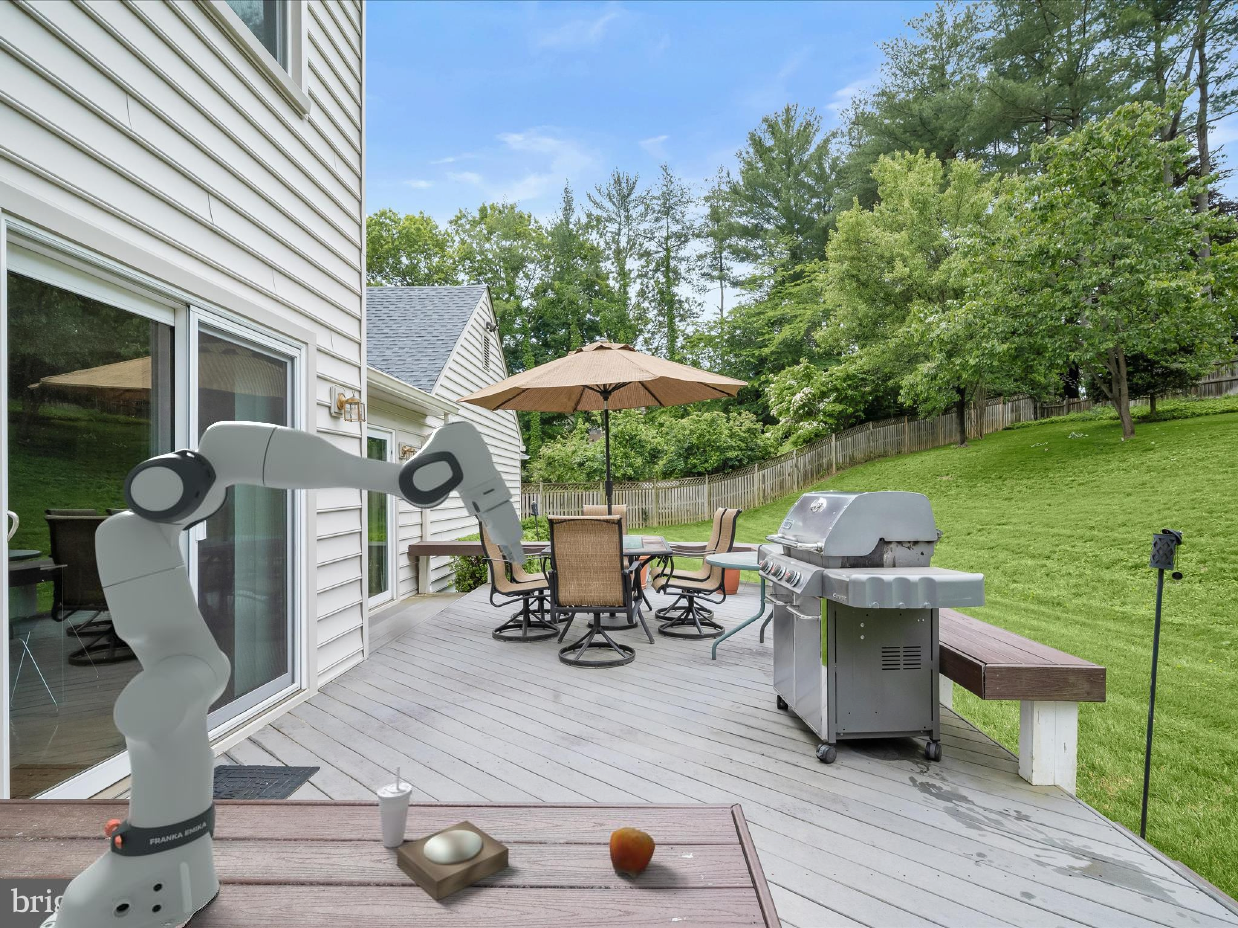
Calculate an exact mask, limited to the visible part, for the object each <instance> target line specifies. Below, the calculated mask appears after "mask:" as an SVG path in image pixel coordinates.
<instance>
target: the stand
mask: <svg viewBox="0 0 1238 928" xmlns="http://www.w3.org/2000/svg"><path fill="white" fill-rule="evenodd" d="M509 850H510V849H509V847H507V846H506V845H504V844H503V843H501V842H500V841H499V840H497V839H495V838H494V837H492V836H490V835H489V834H488V833H486V832H485V831H483V830H482V829H480V828H479V827H477V826H476V825H475V824H473V823H471V822H470V821H468V820H465V821H464V820H463V821H462V822H460V823H457V824H454V825H451V826H449V827H446V828H444V829H442V830H440V831H437V832H434V833H432V834H429V835H427V836H424V837H421V838H419V839H417V840H414V841H412V842H411V841H410V842H409V843H407V844H404V845H402V846H399V847H397V853H396V854H397V855H396V856H397V857H396V859H397V860H396V867H398V868H399V869H400V870H401V871H403V873H405V874H406V875H407V876H408V877H409V878H410V879H411V880H412V881H413V882H415V884H417V886H419V887H420V888H421V889H422V890H423V891H424V892H426V894H428V895H429V896H430V897H431V898H432V899H434V901H436V902H437V901H440V900H442V899H444V898H445V897H448V896H450V895H452V894H455V893H456V892H458V891H460V890H463V889H464V888H467V887H468V886H470V885H472V884H474V883H477V882H478V881H481V880H482V879H484V878H487V877H489V876H491V875H493V874H495V873H497V872H499V871H501V870H503V869H505V868H507V867H509V852H510V851H509Z"/></svg>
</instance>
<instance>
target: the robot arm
mask: <svg viewBox="0 0 1238 928" xmlns="http://www.w3.org/2000/svg"><path fill="white" fill-rule="evenodd" d="M198 443H199V444H198V447H197V449H196V450H193V449H191V448H183V449H179V450H176V451H172V452H170V453H167V454H163V455H159V456H155V457H152V458H149V459H147V460H144V461H142V462H141V463H139V464H137V465H136V466H135V467H133V469H131V470H130V471H129V473H128V474H127V476H126V477H125V479H124V481H123V486H122V494H123V498H124V501H125V503H126V504H127V506H128V507H129V509H128V510H126V511H121V512H119V513H115V514H114V515H111V516H110V517H108V518H106V519H104V521H102V522H101V523H100V524H99V525H98V526H97V529H96V530H95V535H94V540H95V541H94V546H95V547H94V548H95V557H96V565H97V570H98V571H97V572H98V575H99V579H100V583H101V587H102V590H103V593H104V594H103V595H104V597H105V600H106V604H107V607H108V611H109V614H110V617H111V621H112V624H113V627H114V630H115V631H114V632H115V633H116V635H117V636H118V638H119V639H121V640H122V641H124V642H125V643H126V644H127V645H128V646H129V647H130V649H131V650H132V651H133V653H134V654H135V656H136V658H137V659H138V661H139V662H140V664H141V666H142V669H143V670H142V671H141V672H139V673H137V674H136V675H135V676H134V677H133V678H132V679H131V680H130V681H129V682H128V683H127V685H126V686H125V687H124V689H122V691H121V692H120V694H119V696H118V697H117V699H116V700H115V704H114V706H113V711H112V713H113V722H114V725H115V727H116V728H117V730H118V731H119V733H121V734H122V736H124V738H125V745H126V748H127V753H128V758H129V766H130V791H129V809H128V817H127V818H126V819H125V820H124V821H123V822H121V821H120V820H119V819H117V818H115V819H114V818H113V819H111V820H109V821H108V822H107V823H106V824H105V825H104V829H103V830H104V832H105V835H106V836H107V837H110V841H109V842H110V845H109V846H110V848H109V849H108V850H107V851H105V852H104V854H102V855H101V856H100V857H98V859H96V860H95V861H94V862H92V864H91V865H89V866H88V867H87V868H85V869H84V870H83V871H82V872H80V874H78V875H77V876H75V878H73V879H72V880H71V881H70V883H69V884H68V886H67V887H66V888H65V890H64V892H63V895H62V897H61V901H60V904H59V906H58V910H57V912H55V913H54V914H51V915H50V916H48V917H47V918H46V919H45V920H44V921H43V923H41V925H40V926H39V928H175V927H176V926H178V925H180V924H182V923H184V922H185V921H187V919H188V918H190V916H191V915H192V914H193V913H194V912H195V911H196V910H198V909H199V908H200V907H202V906H203V905H204V904H206V902H208V901H209V900H210V899H212V898H213V896H215V895H216V893H217V892H218V893H219V891H220V888H219V887H221V886H220V882H219V879H218V876H217V873H216V872H217V871H216V866H215V861H214V860H215V859H214V853H213V838H214V835H215V834H214V833H215V830H216V815H217V813H216V812H217V808H216V801H214V799H213V798H214V797H213V795H214V776H215V761H216V760H215V757H216V755H215V751H214V750H213V748H212V746H211V743H210V738H209V733H208V724H207V718H208V712H209V709H210V707H211V706H212V705H213V704H214V703H215V702H216V701H217V700H218V699H219V698H220V697H221V696H222V694H224V692H225V690H226V689H227V687H228V686H227V685H228V683H229V680H230V677H231V673H232V666H231V663H230V662H231V661H230V660H229V657H228V656H227V655H226V653H225V652H223V651H222V650H221V649H220V648H219V645H218V644H217V641H216V639H215V638H214V636H213V634H212V632H211V631H210V628H209V627H208V625H207V623H206V622H205V620H204V617H203V615H202V614H201V611H200V609H199V606H198V603H197V600H196V597H195V594H194V591H193V586H192V584H191V581H190V577H189V573H188V571H187V566H186V565H185V560H184V557H183V555H182V551H181V546H180V535H181V533H182V532H185V531H186V532H187V531H189V530H190V529H192V528H193V527H195V526H198V525H199V524H201V523H203V522H204V521H206V520H208V519H210V518H212V517H214V515H216V514H217V513H218V512H219V511H221V510H222V508H224V506H225V505H226V504H227V501H228V499H229V496H230V488H229V487H230V486H233V485H239V484H240V485H251V486H258V487H264V488H271V489H272V488H273V489H280V490H317V489H319V490H320V489H331V488H332V489H333V488H349V489H355V490H362V491H370V492H375V493H380V494H386V495H391V496H395V497H398V498H400V499H401V500H403V502H406V503H407V504H409V505H411V506H413V507H414V508H418V509H419V510H420V509H423V510H430V509H434V508H438V507H439V506H441V505H442V504H444V503H445V502H446V501H447V499H448V498H449V496H450V494H451V493H452V492H457V494H458V495H459V497H460V499H461V501H462V504H463V505H464V507H465V509H466V512H467V514H468V516H469V517H473V516H475V515H476V516H477V518H478V519H477V520H478V521H479V522H482V525H483V527H484V529H485V530H484V531H486V534H487V536H488V538H489V540H490V542H491V543H492V545H493V544H494V545H498V546H499V548H500V550H501V551H502V552H503V554H504V555H505V558H506V559H507V561H508V562H509V563H511V564H512V563H516V564H517V566H523V565H525V564H526V563H528V559H527V556H526V555H525V552H524V551H525V550H524V548H523V544H522V543H521V540H523V539H524V538H525V533H524V529H523V527H522V523H521V521H520V518H519V515H518V513H517V511H516V509H515V506H514V504H513V502H512V501H511V500H512V499H513V495H512V494H513V493H512V492H511V490H510V488H509V487H508V486H507V484H506V482H505V479H504V477H503V476H502V474H501V472H500V471H499V470H498V469H497V467H496V465H495V464H494V461H493V456H492V453H491V450H490V449H489V447H488V445H487V443H486V442H485V440H484V438H483V436H482V434H481V433H480V431H479V430H478V429H477V427H476V426H475V425H474V424H473V423H470V422H468V421H465V420H464V421H463V420H462V421H461V420H459V421H453V422H449V423H445V424H443V425H440V426H437V428H435V429H434V430H433V432H432V434H431V436H430V437H429V439H428V440H427V442H426V443H425V444H424V445H423V446H422V447H421V449H419V450H418V452H417V453H415V455H413V456H412V457H411V458H409V460H407V461H406V462H405V463H397V462H389V461H384V460H379V459H374V458H368V457H363V456H359V455H355V454H352V453H349V452H347V451H345V450H342V449H341V448H339V447H337V446H336V445H334V444H332V443H330V442H329V441H328V440H326V439H325V438H322V437H321V436H319V435H316V434H314V433H309V432H308V431H303V430H301V429H298V428H293V427H289V426H283V425H278V424H272V423H264V422H256V421H255V422H254V421H240V420H239V421H236V420H235V421H234V420H233V421H227V420H226V421H218V422H215V423H214V424H212V425H210V426H208V427H207V428H206V430H204V432H203V434H202V436H201V438H200V440H199V442H198ZM218 890H219V891H218ZM218 893H217V894H218ZM216 896H217V895H216ZM216 896H215V897H216ZM167 923H171V924H170V925H167V926H165V924H167Z"/></svg>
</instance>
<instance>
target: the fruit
mask: <svg viewBox="0 0 1238 928" xmlns="http://www.w3.org/2000/svg"><path fill="white" fill-rule="evenodd" d="M655 849H656V844H655V841H654V839H653V837H652V836H651V835H650V834H649V833H647V831H646V832H645V831H642V830H640V829H636V828H635V827H627V826H624V827H621V828H619V829H617V830H613V832H612V833H611V836H610V837H609V854H610V855H609V856H610V860H611V864H612V868H613V870H614V875H617V874H618V873H625V874H627V875H629V876H631V877H632V878H633V881H634V882H636V876H637V875H639V874H641V873H642V874H643V872H644V871H645V870H646V869H647V868H648V866H649V864H650V863H651V861H652V858H653V855H654V852H655Z"/></svg>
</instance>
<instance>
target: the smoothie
mask: <svg viewBox="0 0 1238 928" xmlns="http://www.w3.org/2000/svg"><path fill="white" fill-rule="evenodd" d="M400 768H401V766H400V765H397V766H396V772H395V773H396V776H395V778H396V779H395V782H391V783H388V784H385V785H383V786H382V787H380V788H379V789H377V791H376V792H377V793H376V799H377V800H378V807H379V817H380V818H379V819H380V827H381V838H382V846H383V847H384V848H395V847H398V846H400V845H402V844H403V842H404V839H405V831H406V825H407V818H408V810H409V805H410V801H411V800H410V798H411V795H413V794H412V793H413V787H412V785H411V784H410V783H407V782H400V770H401V769H400Z"/></svg>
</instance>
